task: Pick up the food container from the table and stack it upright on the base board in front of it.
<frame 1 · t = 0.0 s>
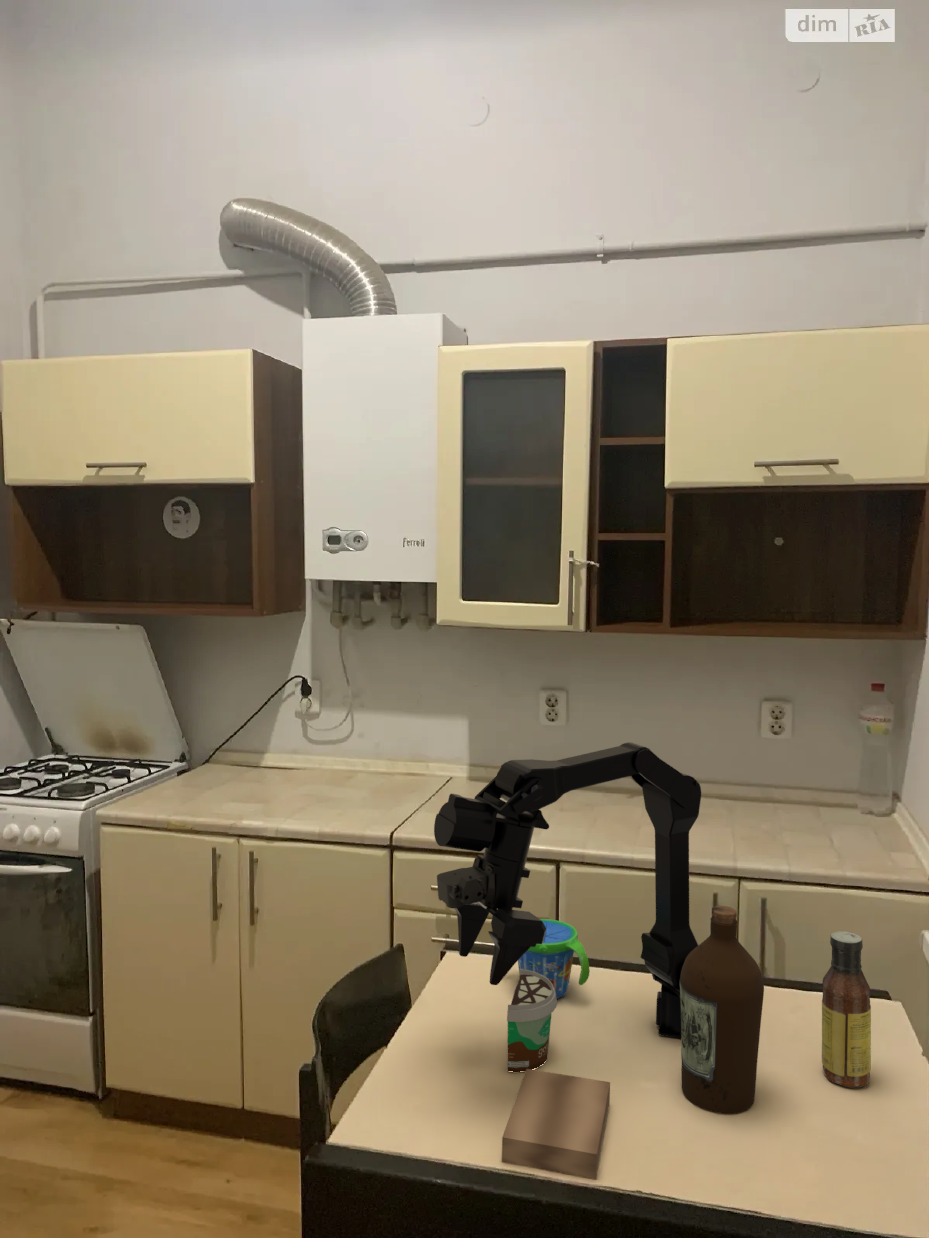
hand: (477, 969, 122), 15 cm above the table, tool pointing down, fingers open, 9 cm apart
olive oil: (716, 1094, 122), on the table
sauce bottle: (844, 1078, 126), on the table
food container: (533, 1058, 130), on the table
base board: (558, 1131, 113), on the table
snack cup: (544, 992, 150), on the table
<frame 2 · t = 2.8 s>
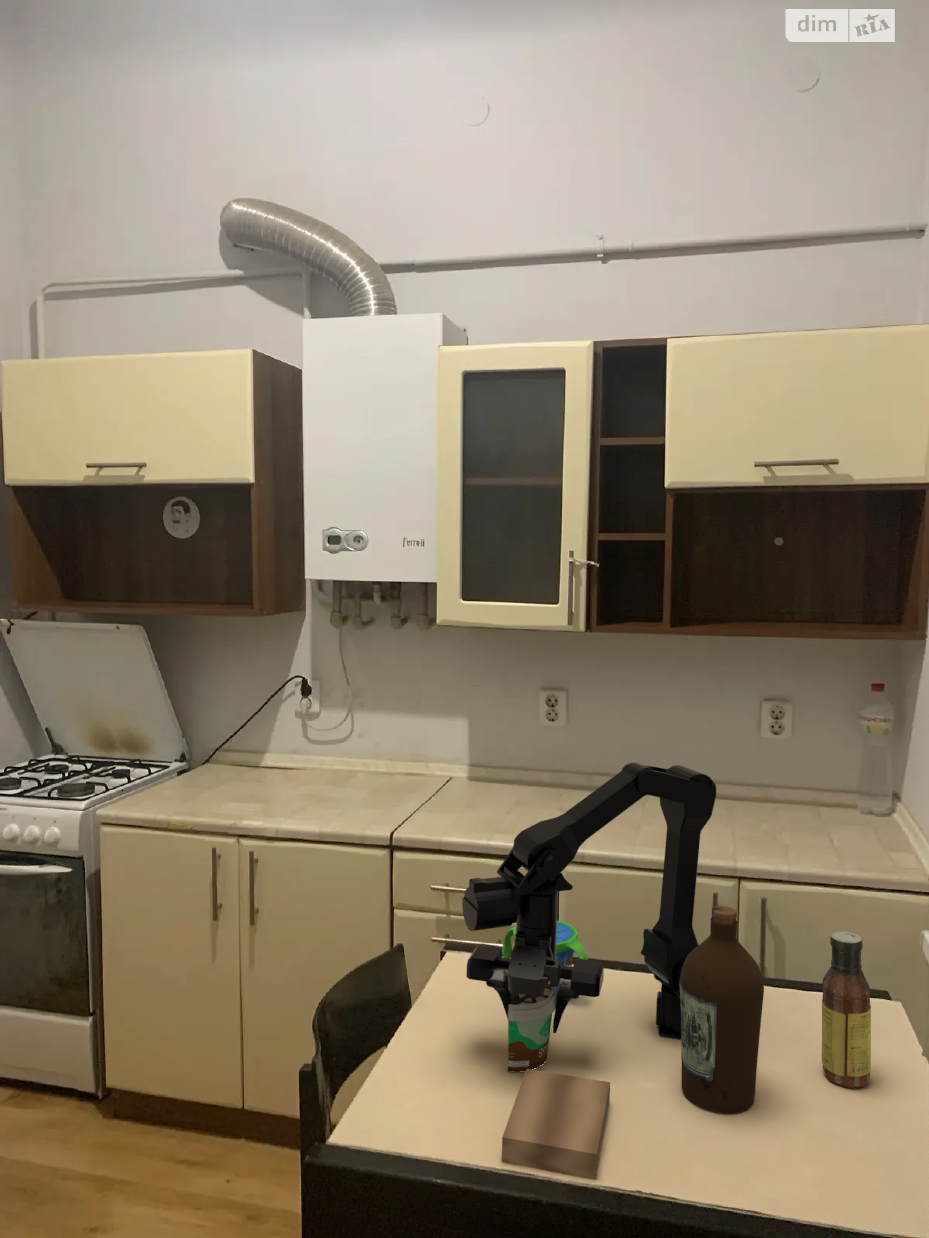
hand: (533, 1028, 130), 4 cm above the table, tool pointing down, fingers closed on food container, 6 cm apart
food container: (533, 1057, 130), on the table, touching gripper
everything else where it was.
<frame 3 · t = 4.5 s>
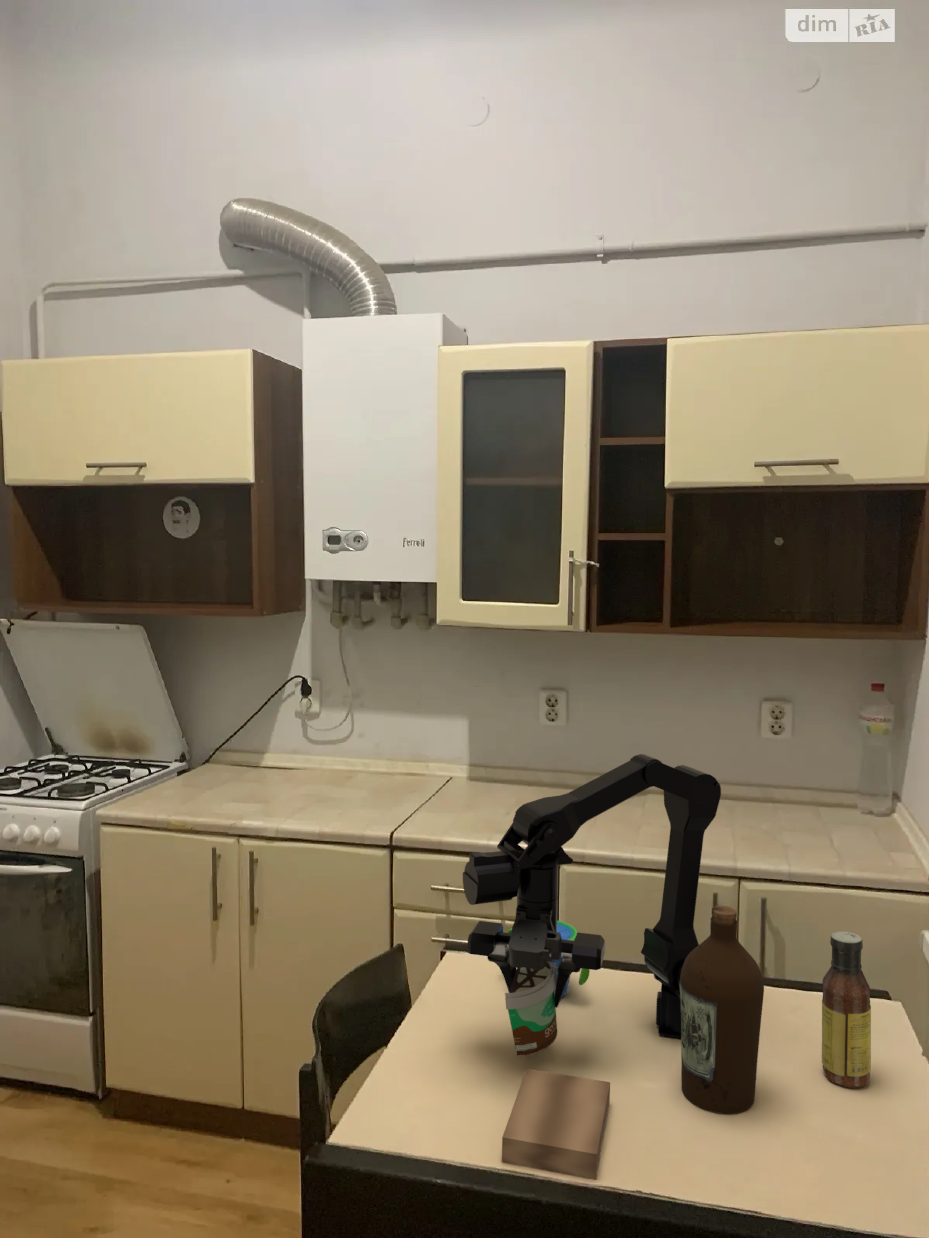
hand: (535, 1003, 129), 8 cm above the table, tool pointing down, fingers closed on food container, 6 cm apart
food container: (544, 1035, 130), point 3 cm above the table, touching gripper
everything else where it was.
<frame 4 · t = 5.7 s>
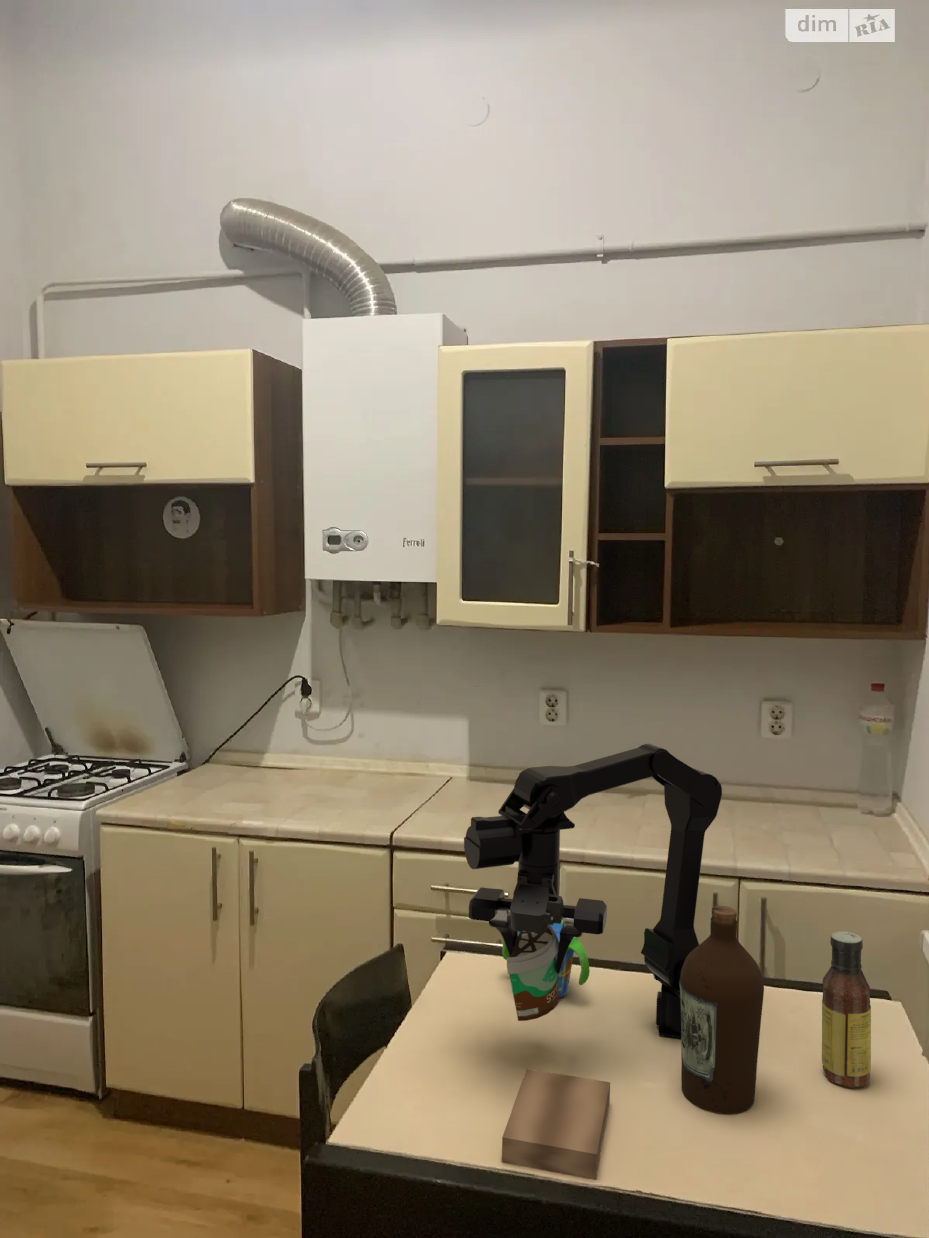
hand: (536, 969, 129), 13 cm above the table, tool pointing down, fingers closed on food container, 6 cm apart
food container: (545, 1002, 130), point 8 cm above the table, touching gripper
everything else where it was.
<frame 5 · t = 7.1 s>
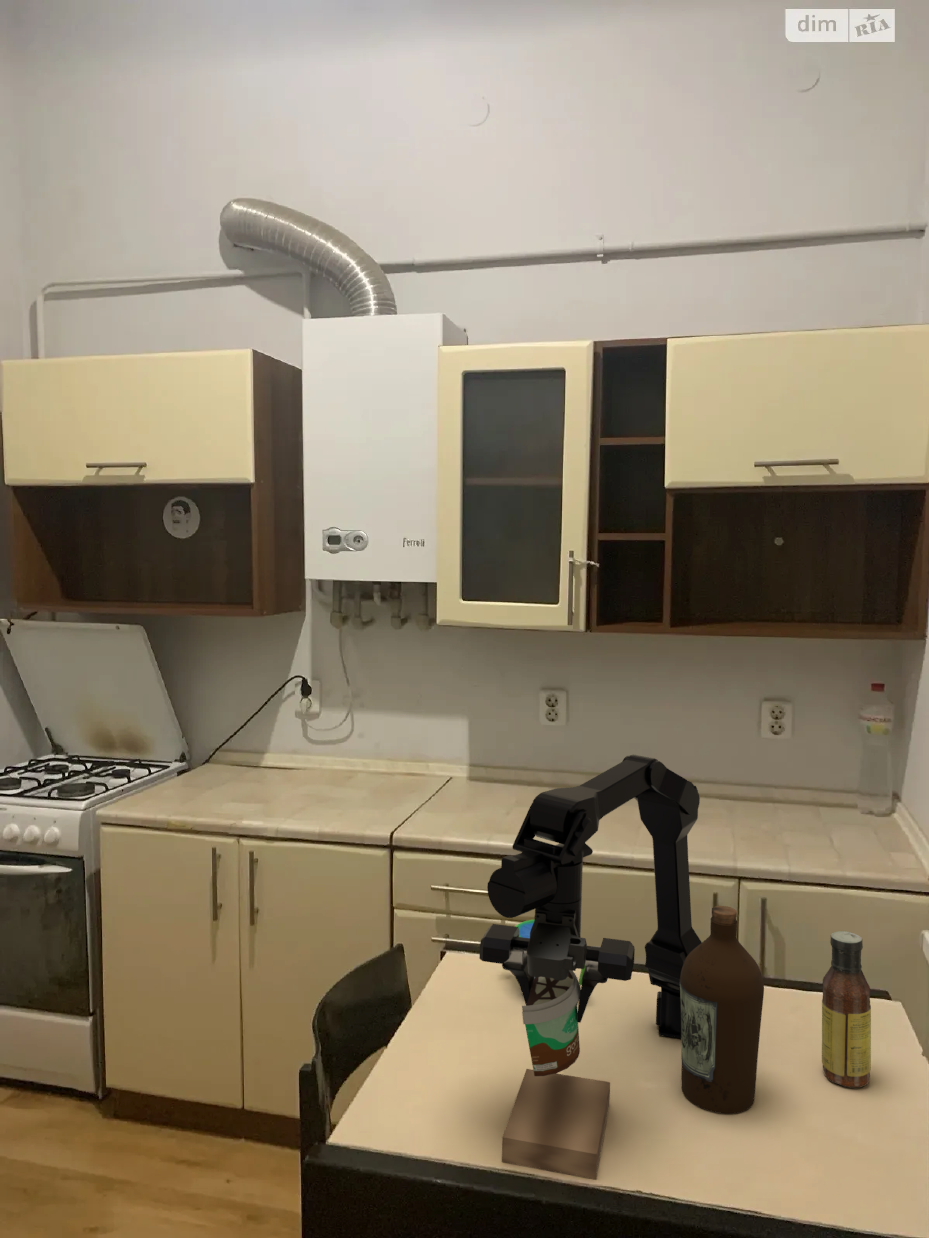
hand: (555, 1017, 115), 13 cm above the table, tool pointing down, fingers closed on food container, 6 cm apart
food container: (564, 1054, 116), point 8 cm above the table, touching gripper
everything else where it was.
when the fingers open (9 cm above the table, at t = 9.5 s): food container stays where it is, resting on base board.
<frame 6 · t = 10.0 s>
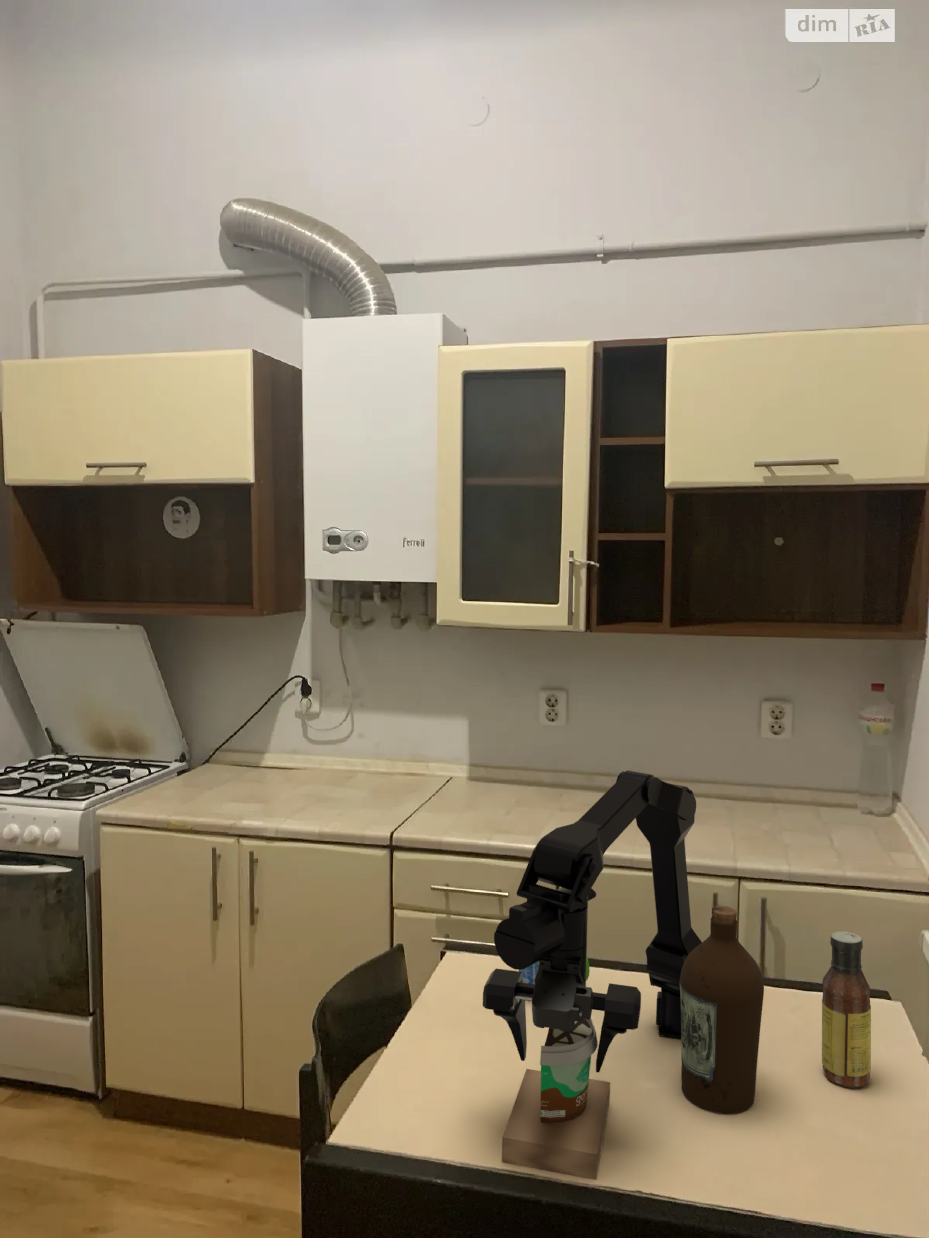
hand: (560, 1064, 112), 8 cm above the table, tool pointing down, fingers open, 9 cm apart
food container: (570, 1105, 114), point 3 cm above the table, touching base board
everything else where it was.
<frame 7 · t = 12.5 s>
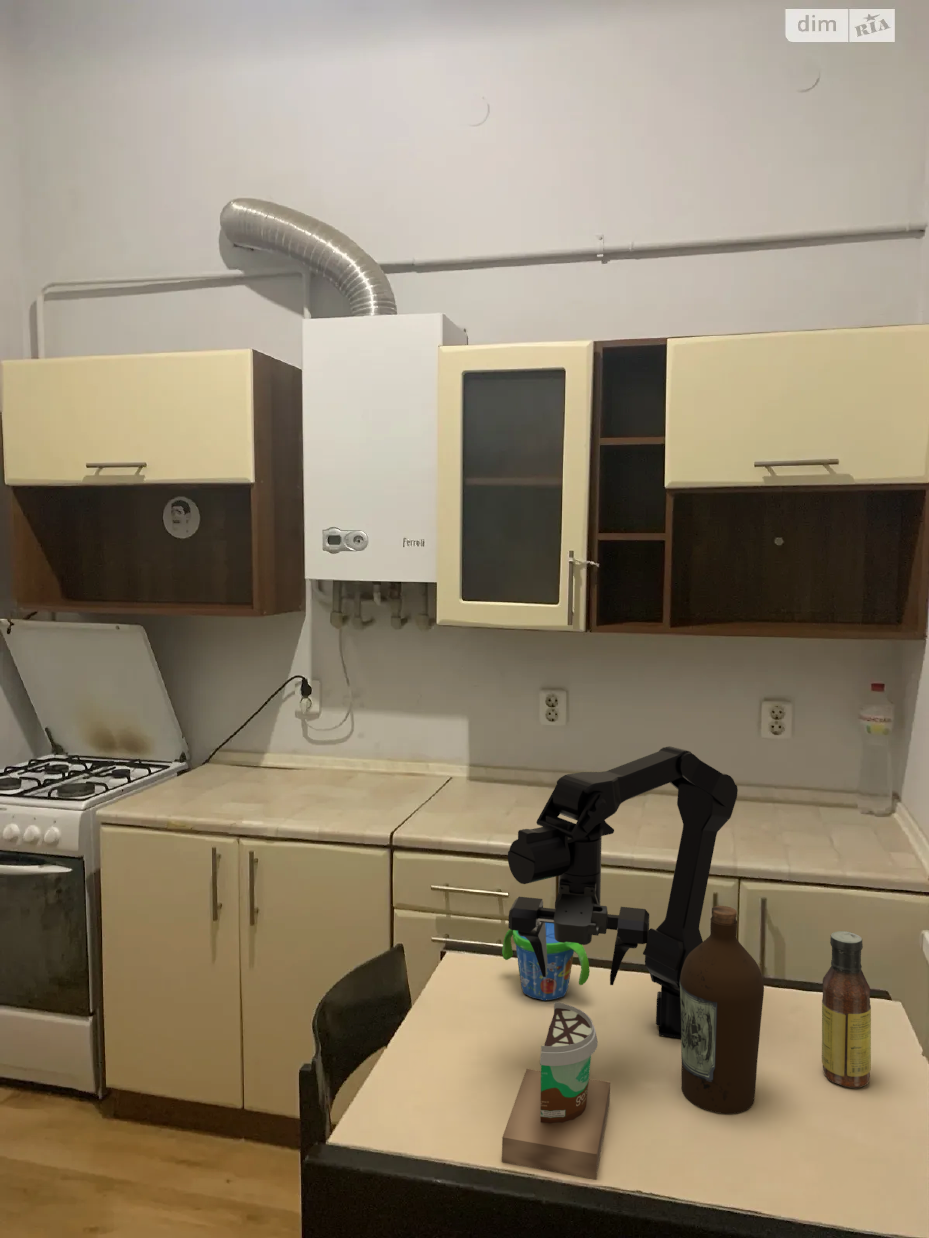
hand: (578, 979, 126), 13 cm above the table, tool pointing down, fingers open, 9 cm apart
nothing on the table moved.
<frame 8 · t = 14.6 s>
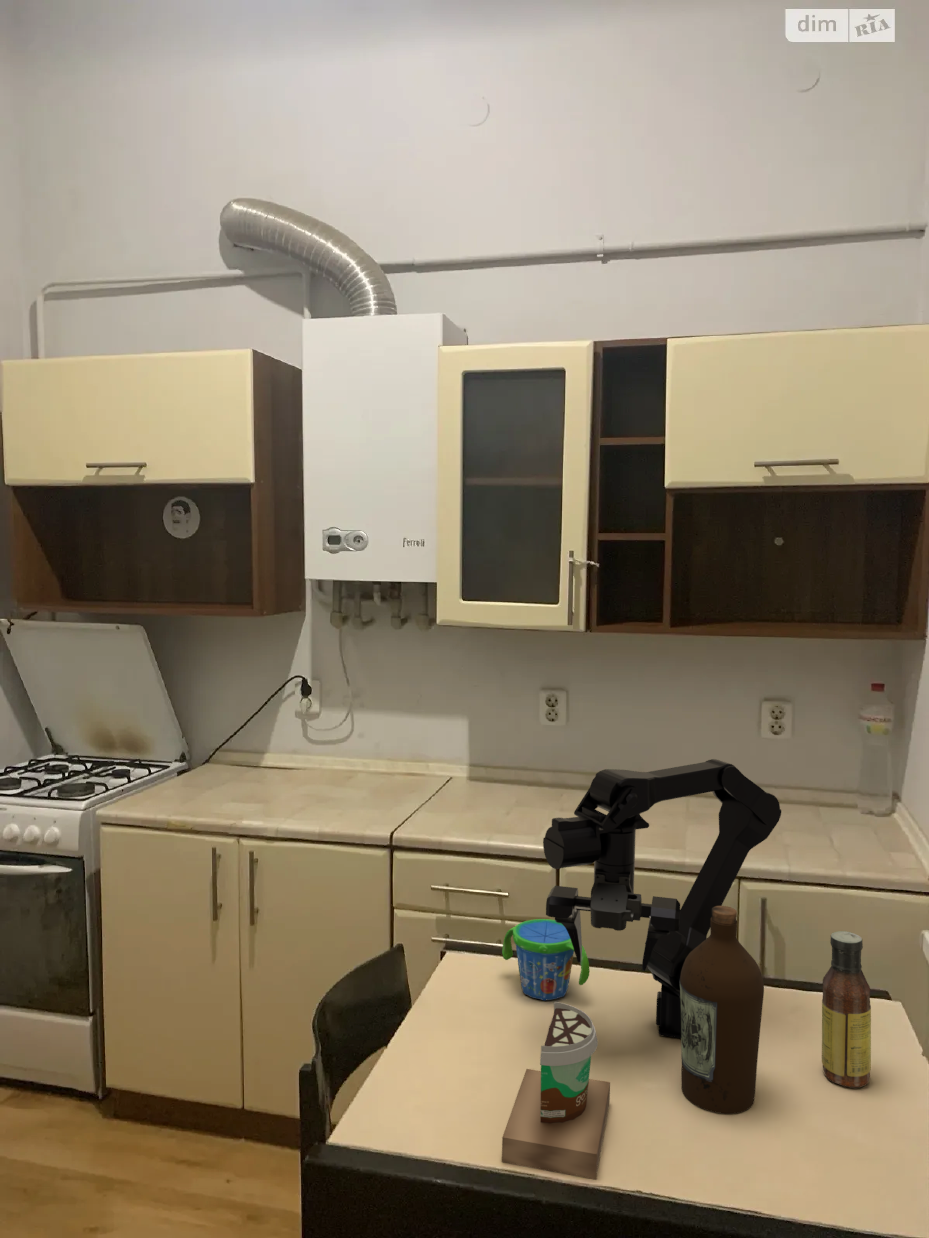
hand: (611, 965, 132), 12 cm above the table, tool pointing down, fingers open, 9 cm apart
nothing on the table moved.
at the end: food container inside the target area on the base board (1.8 cm from its centre), point 2.8 cm above the base board's base; food container tilted 0°; the gripper is holding nothing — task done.
